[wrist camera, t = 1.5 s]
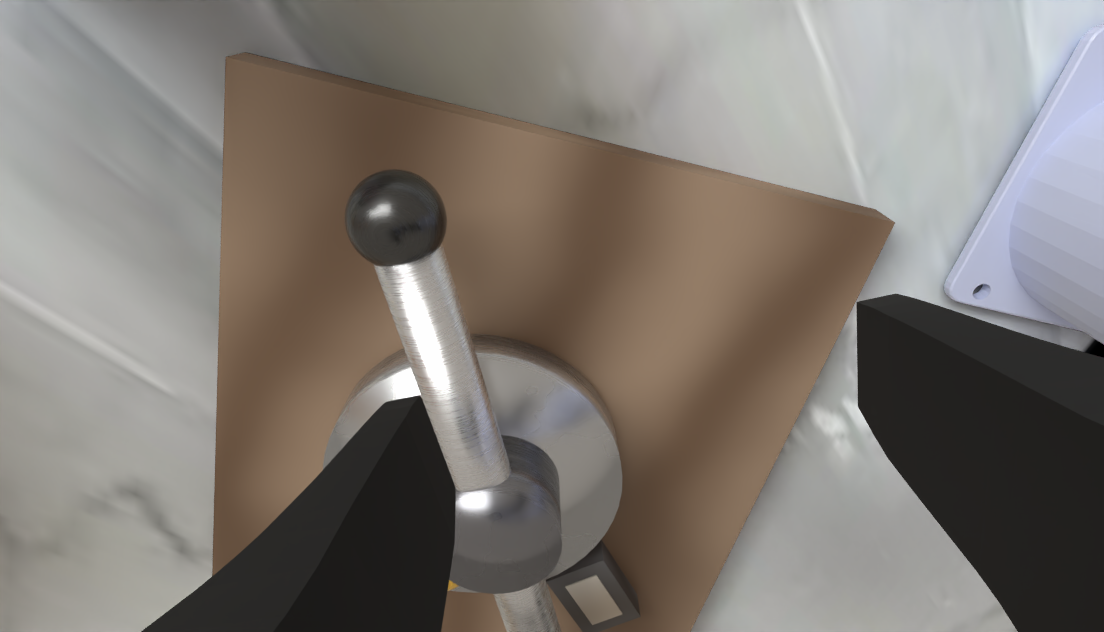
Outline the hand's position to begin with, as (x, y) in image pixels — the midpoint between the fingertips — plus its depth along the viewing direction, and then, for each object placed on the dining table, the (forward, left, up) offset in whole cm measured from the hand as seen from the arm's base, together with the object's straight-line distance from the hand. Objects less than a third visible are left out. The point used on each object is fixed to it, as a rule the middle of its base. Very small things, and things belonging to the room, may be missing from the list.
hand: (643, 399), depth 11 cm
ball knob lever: (+2, +8, -8) cm, 12 cm away
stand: (+1, +8, -10) cm, 12 cm away
